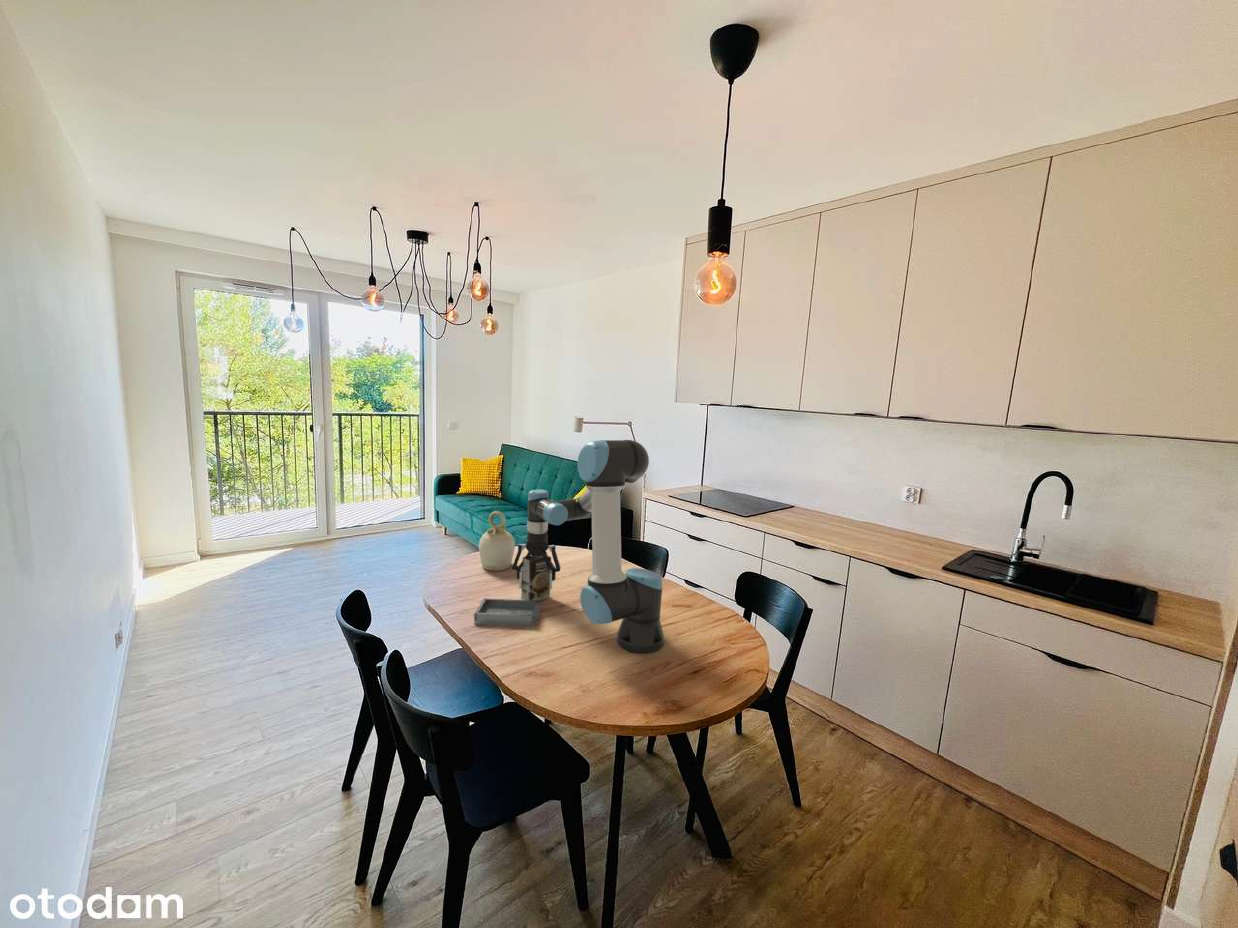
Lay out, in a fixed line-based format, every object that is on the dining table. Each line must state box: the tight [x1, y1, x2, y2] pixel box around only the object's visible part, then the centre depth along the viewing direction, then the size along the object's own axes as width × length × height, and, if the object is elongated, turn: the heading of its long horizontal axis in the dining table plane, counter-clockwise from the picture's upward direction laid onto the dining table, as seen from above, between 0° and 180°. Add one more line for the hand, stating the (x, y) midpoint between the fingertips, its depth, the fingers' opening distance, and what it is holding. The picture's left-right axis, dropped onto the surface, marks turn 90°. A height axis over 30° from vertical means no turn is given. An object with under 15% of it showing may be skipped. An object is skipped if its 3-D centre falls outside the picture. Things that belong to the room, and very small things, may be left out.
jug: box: [478, 510, 516, 572], centre depth 217 cm, size 15×16×25 cm
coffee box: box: [520, 555, 552, 601], centre depth 187 cm, size 9×6×16 cm
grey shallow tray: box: [473, 597, 541, 627], centre depth 171 cm, size 20×12×4 cm, turn 91°
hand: (535, 587), depth 187 cm, fingers closed on coffee box, 11 cm apart
